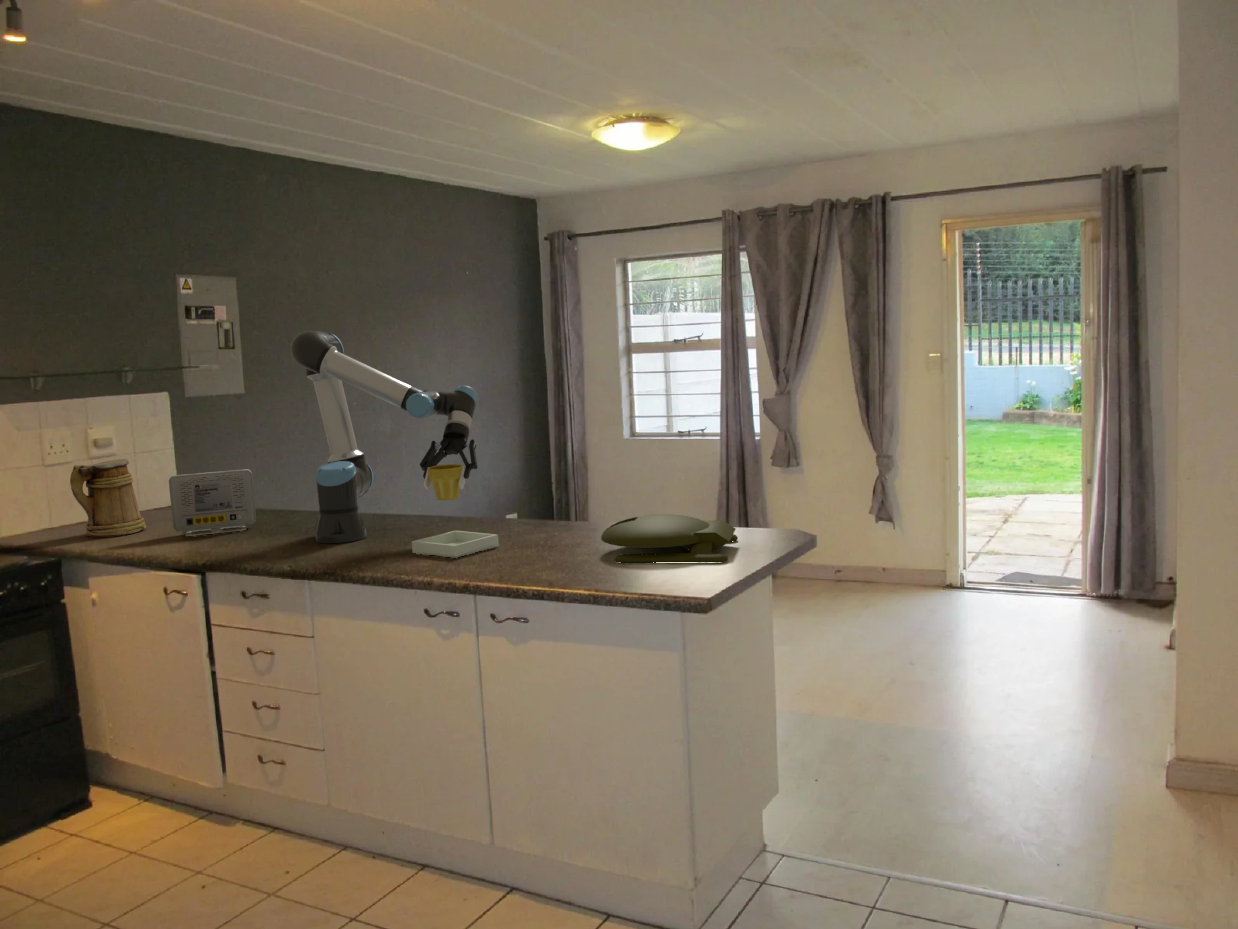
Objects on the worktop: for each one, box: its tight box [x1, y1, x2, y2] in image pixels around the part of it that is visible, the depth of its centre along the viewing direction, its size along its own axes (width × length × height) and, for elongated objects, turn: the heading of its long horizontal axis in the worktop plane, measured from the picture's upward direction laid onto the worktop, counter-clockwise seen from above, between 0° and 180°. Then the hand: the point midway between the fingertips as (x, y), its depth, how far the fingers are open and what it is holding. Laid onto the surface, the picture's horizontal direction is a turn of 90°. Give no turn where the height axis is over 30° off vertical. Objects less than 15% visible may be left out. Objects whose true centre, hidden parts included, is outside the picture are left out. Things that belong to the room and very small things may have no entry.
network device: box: [168, 468, 257, 537], centre depth 330 cm, size 26×9×20 cm, turn 111°
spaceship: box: [600, 513, 739, 563], centre depth 263 cm, size 35×31×10 cm
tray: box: [411, 530, 500, 559], centre depth 279 cm, size 17×17×4 cm
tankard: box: [69, 458, 147, 538], centre depth 336 cm, size 18×24×25 cm
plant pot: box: [428, 463, 463, 501], centre depth 297 cm, size 10×10×10 cm
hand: (443, 487), depth 294 cm, fingers closed on plant pot, 10 cm apart
